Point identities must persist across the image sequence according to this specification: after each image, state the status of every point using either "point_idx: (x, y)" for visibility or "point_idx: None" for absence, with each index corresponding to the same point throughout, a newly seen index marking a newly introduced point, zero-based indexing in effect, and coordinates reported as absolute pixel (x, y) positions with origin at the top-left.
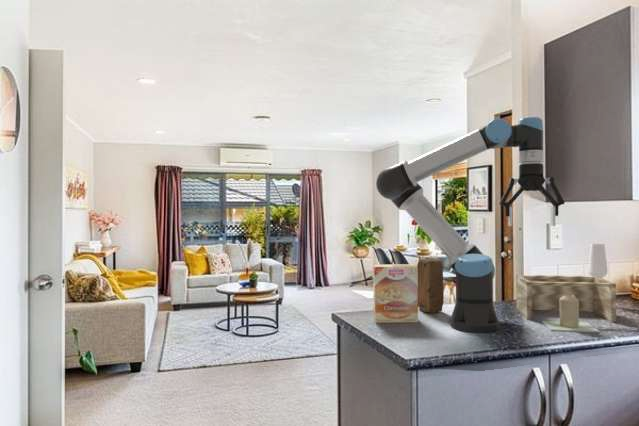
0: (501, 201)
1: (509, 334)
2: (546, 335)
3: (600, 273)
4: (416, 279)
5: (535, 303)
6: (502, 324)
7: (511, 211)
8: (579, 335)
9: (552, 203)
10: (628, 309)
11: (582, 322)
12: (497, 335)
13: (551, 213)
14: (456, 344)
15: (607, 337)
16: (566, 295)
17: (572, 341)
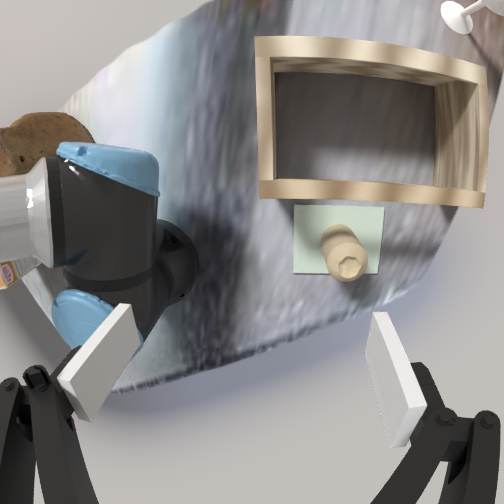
0: (21, 427)
1: (213, 303)
2: (275, 302)
3: (499, 14)
4: (22, 276)
5: (310, 68)
6: (207, 234)
7: (100, 400)
8: (333, 295)
9: (421, 439)
10: (496, 72)
11: (375, 209)
12: (194, 310)
13: (388, 384)
14: (142, 353)
15: (374, 300)
16: (347, 256)
17: (307, 330)
